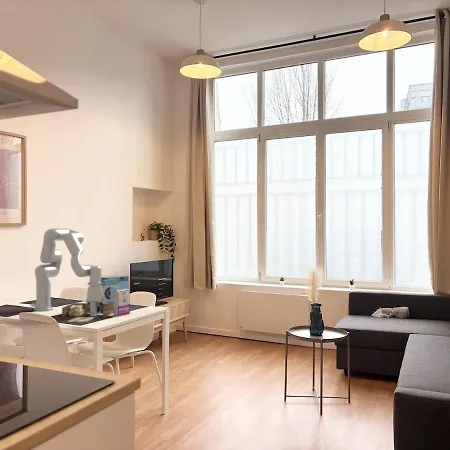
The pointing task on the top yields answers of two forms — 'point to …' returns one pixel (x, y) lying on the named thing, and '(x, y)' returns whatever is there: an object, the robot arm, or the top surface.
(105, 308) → the rack
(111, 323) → the top surface
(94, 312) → the pale blue block
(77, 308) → the birch offcut
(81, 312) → the oak offcut
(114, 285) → the blue cardboard box
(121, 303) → the candy bar box
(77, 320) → the mat
